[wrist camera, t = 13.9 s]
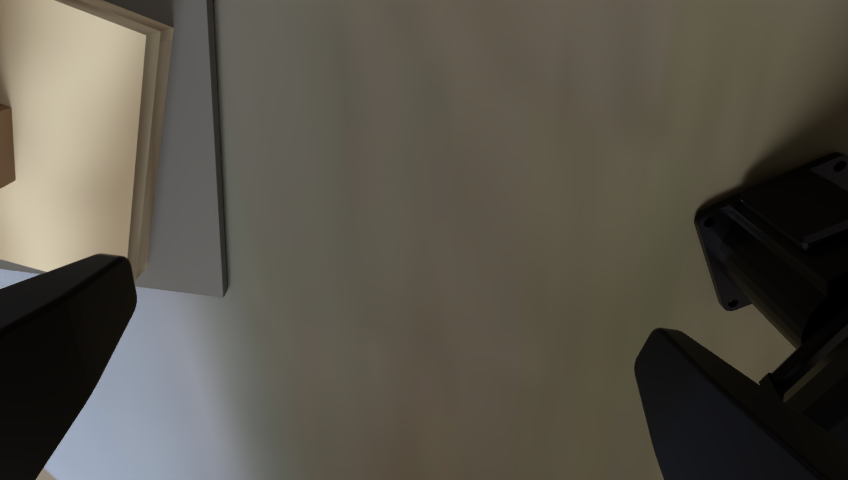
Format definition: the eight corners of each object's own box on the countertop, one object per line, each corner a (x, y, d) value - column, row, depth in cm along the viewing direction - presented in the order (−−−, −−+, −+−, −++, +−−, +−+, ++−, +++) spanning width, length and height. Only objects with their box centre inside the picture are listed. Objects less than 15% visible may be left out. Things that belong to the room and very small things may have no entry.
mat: (208, -82, 16) (201, -84, 15) (227, 290, 24) (223, 297, 23) (-331, -194, 14) (-359, -199, 14) (-115, 245, 22) (-127, 252, 22)
